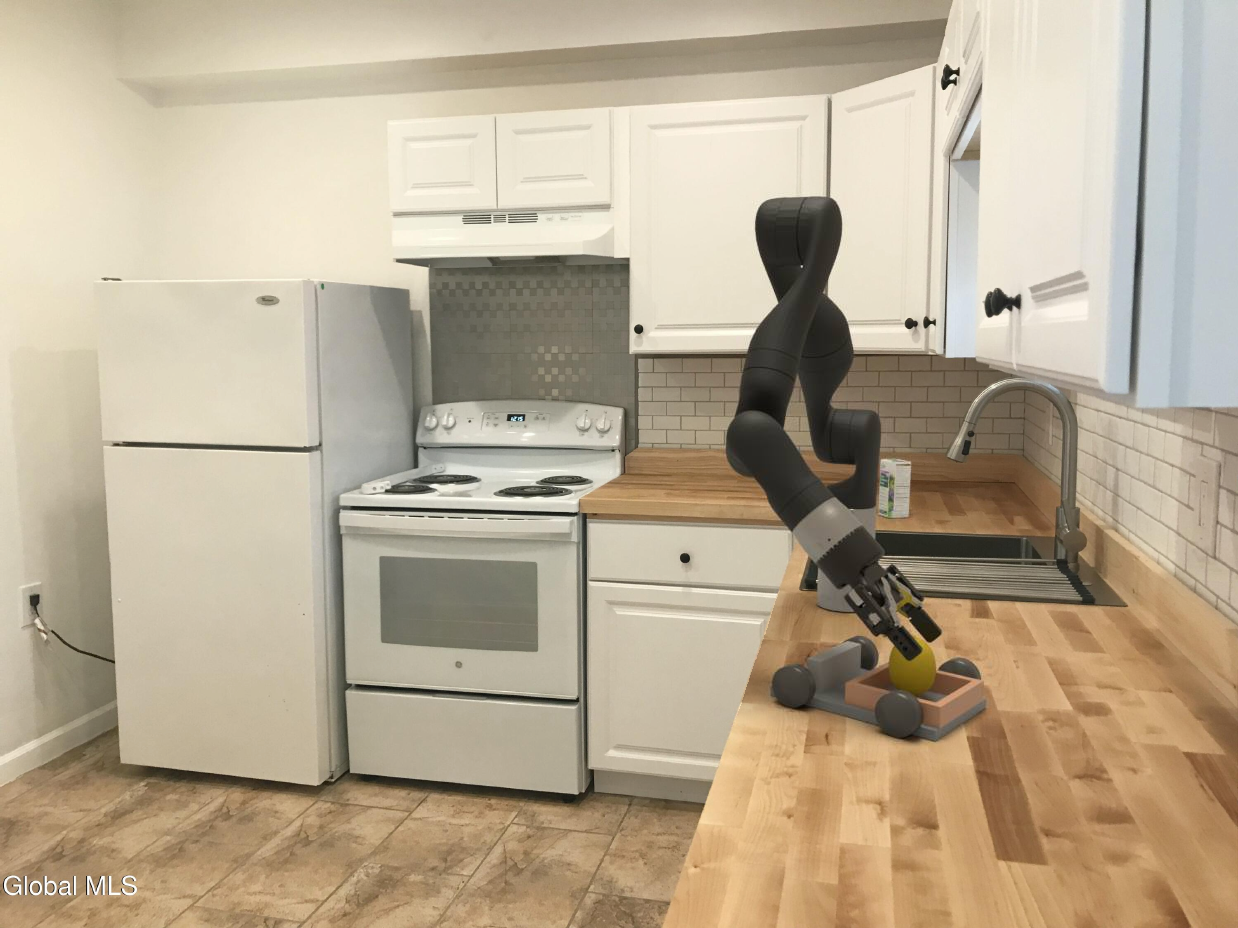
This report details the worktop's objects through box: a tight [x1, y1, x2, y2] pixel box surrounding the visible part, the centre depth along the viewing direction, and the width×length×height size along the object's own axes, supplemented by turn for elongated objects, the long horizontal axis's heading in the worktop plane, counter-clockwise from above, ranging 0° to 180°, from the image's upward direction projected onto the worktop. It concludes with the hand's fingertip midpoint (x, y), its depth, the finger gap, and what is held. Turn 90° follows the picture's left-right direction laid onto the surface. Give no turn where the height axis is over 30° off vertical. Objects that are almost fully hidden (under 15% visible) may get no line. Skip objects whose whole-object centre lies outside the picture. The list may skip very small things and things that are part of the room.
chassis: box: [769, 635, 987, 742], centre depth 126 cm, size 18×22×5 cm
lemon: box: [888, 634, 937, 698], centre depth 123 cm, size 6×6×8 cm
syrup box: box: [877, 458, 912, 519], centre depth 258 cm, size 6×6×14 cm
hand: (926, 647), depth 122 cm, fingers open, 8 cm apart
